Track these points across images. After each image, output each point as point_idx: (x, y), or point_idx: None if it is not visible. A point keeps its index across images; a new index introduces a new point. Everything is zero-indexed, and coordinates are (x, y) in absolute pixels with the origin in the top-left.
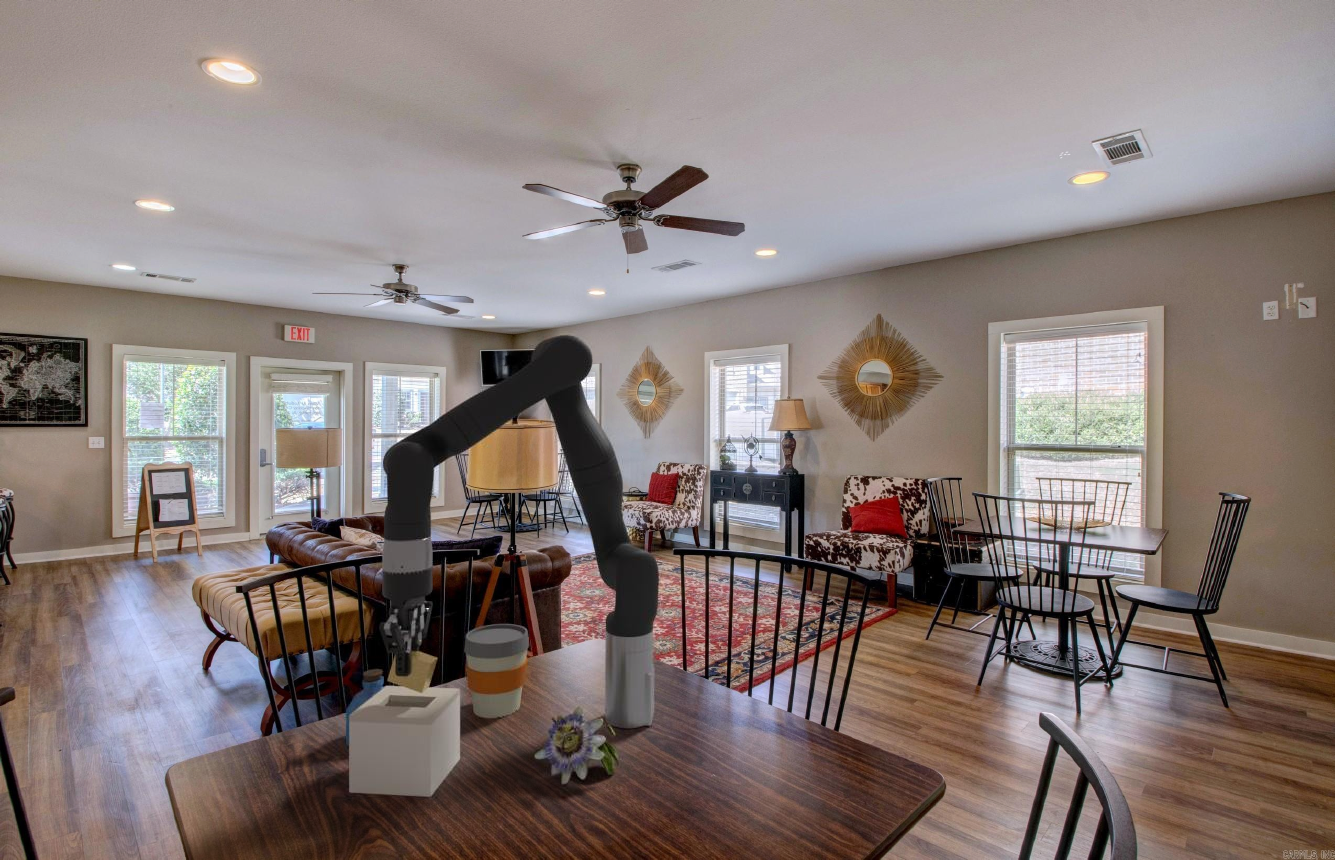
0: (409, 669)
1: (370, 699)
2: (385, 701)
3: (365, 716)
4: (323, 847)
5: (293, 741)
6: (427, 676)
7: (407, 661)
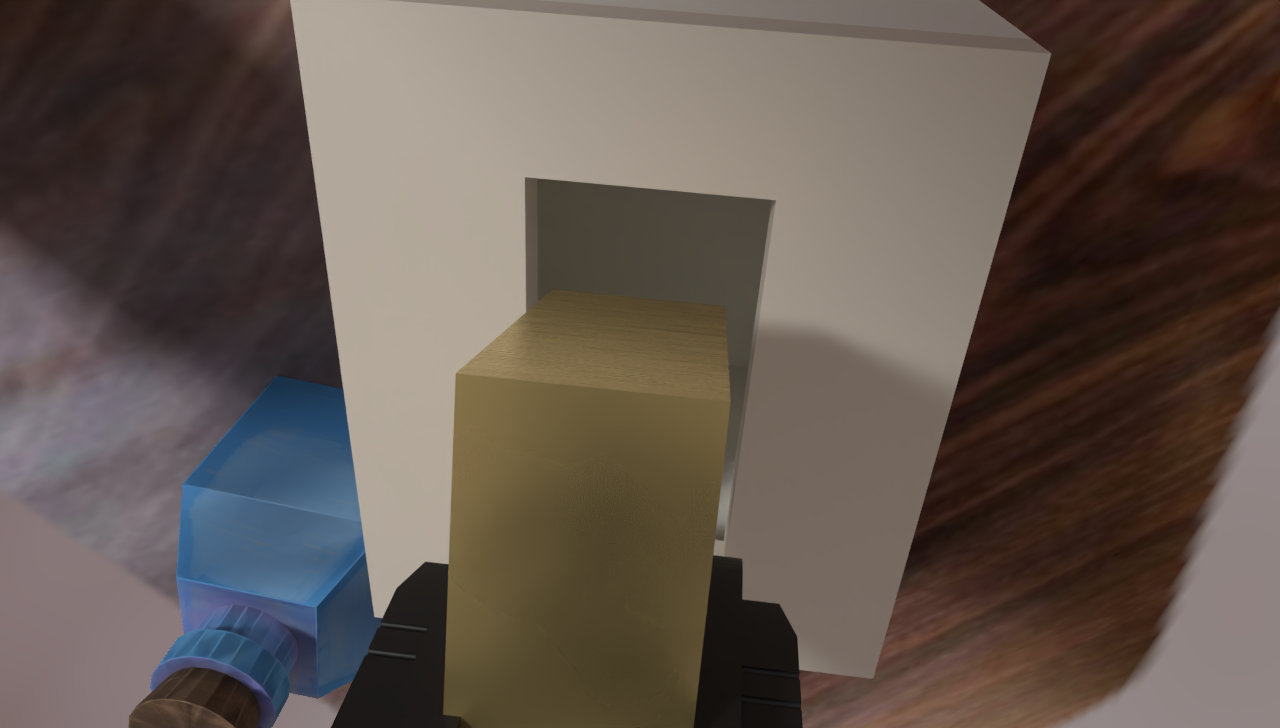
0: (725, 599)
1: None
2: None
3: (898, 586)
4: (1269, 316)
5: None
6: (700, 344)
7: (739, 710)
